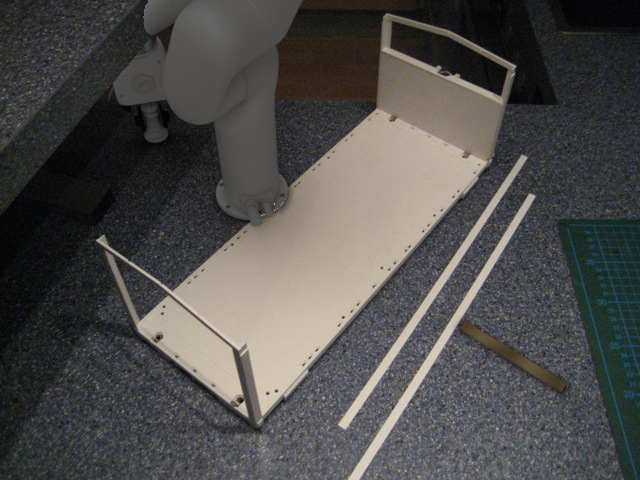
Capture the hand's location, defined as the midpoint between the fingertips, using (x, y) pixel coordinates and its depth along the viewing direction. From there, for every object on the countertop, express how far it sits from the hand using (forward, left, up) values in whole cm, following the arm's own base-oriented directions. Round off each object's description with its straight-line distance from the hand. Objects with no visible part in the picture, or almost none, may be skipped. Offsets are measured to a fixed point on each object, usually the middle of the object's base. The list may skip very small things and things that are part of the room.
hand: (154, 125), depth 117 cm
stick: (-62, -42, -3) cm, 75 cm away
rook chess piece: (0, 0, -3) cm, 3 cm away
